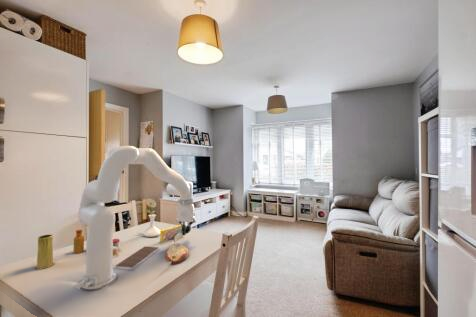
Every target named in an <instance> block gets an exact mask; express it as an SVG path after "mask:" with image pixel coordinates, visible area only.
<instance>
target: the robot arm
mask: <svg viewBox="0 0 476 317" xmlns="http://www.w3.org/2000/svg"><path fill="white" fill-rule="evenodd" d="M129 165H144V166H145V168H147V170H148V171H149V172H150V173H151V174H152V175H153V176H154V177H155V178H156V179H158V180H160V181H162V182H165V183H167V185H166V188H165V190H166V192H167V193H168V194H169V195H171V196H178V197H179V199H177V202H178V205H177V210H176V220H175V221H176V223H179V225H181V226H182V229H183V228H185V227H186V226H187V234H189V233H190V232H191V230H190V225H191V226H192V224H193V225H194V224H195V223H196V222H197V219H196V210H195V204H194V203H193V202H194V200H193V199H194V197H193V196H194V194H193V193H194V183H193V182H192V181H188V180H186V179H185V178H184V177H183V176H182V175H181V174H179V173H178V172H177V171H176V170H174V169H173V168H171V167H169V166H168V165H167V163H166V162H165V161H164V160H163V159H162V158H161V156H160V155H159V153H158V152H157V151H156V150H155V149H153V148H151V147H139V148H138V147H136V146H133V145H117V146H114V147H111V148H110V149H109V150H108V153H107V157H105V159H104V160H103V162H102V164H101V166H100V169H99V172H98V174H97V179H93V180H91V181H90V182H88V183H87V184H86V186H85V187H84V189H83V192H82V194H81V200H80V202H79V207H78V213H77V217H78V218H77V219H78V221H79V222H80V223H81V224H82V225H84V226H86V227H88V231H87V235H86V241H85V243H86V244H85V245H86V248H85V250H86V251H85V275H84V276H83V279H82V280H81V281H80V282H78V283H76V284H75V289H77V290H80V289H81V288H82V289H84V290H97V289H101V288H104V287H107V284H108V283H111V282H113V281H114V280H115V279H116V278H117V272H115V271H113V267H114V264H113V263H114V262H113V261H114V255H113V239H114V230H115V229H114V228H115V223H116V213H115V212H114V210H113V209H112V208H110V207H108V206H106V205H104V204H108V203H112V202H113V201H114V200H116V198H117V196H118V190H119V186H120V182H121V177H122V174H123V171H124V170H125V168H126V167H128V166H129ZM186 223H187V225H186Z"/></svg>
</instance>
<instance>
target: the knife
mask: <svg viewBox="0 0 476 317" xmlns="http://www.w3.org/2000/svg"><path fill="white" fill-rule="evenodd" d="M191 230H192V224H191V225H190V231H191ZM187 234H188V233H187V225H186V227H185V228H183V229H182V230H181V232H180V233H179V234H177V235H176V236H175V237H174V240H173V243H176V242H177V241H178V240H180V239H181V238H183V237H184V236H185V235H187ZM182 236H183V237H182Z"/></svg>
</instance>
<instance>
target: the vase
mask: <svg viewBox="0 0 476 317" xmlns="http://www.w3.org/2000/svg"><path fill="white" fill-rule="evenodd" d="M53 239H54V238H53V234H43V235H40V236H38V237H37V255H36V267H35V268H36V269H38V270H44V269H47V268H50V267H52V266H53V265H54V252H53V251H54V249H53V248H54V247H53Z"/></svg>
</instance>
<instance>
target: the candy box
mask: <svg viewBox="0 0 476 317" xmlns="http://www.w3.org/2000/svg"><path fill="white" fill-rule="evenodd" d="M181 230H182V226H181V224H179V225H175V226H172V227H167V228H164V229H160V231H161V232H160V234H159V242H160V243H164V242H167V241H174V237H175V236H176V235H177V234H179V233H180V232H181ZM183 237H184V235H183V236H182V237H181V238H183Z"/></svg>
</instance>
